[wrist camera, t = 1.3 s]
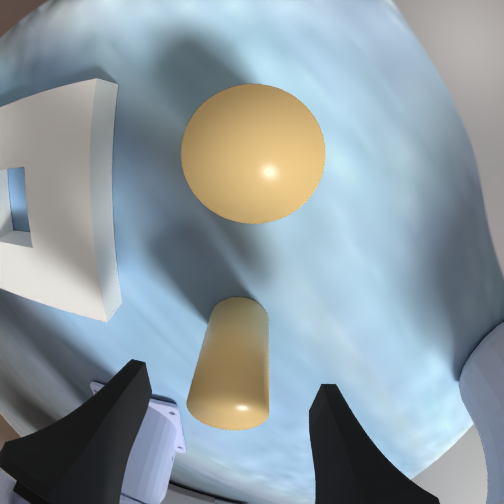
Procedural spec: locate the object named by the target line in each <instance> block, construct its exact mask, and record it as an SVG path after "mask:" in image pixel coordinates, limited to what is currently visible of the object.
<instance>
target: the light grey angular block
mask: <svg viewBox="0 0 504 504" xmlns="http://www.w3.org/2000/svg"><path fill="white" fill-rule="evenodd" d="M214 501H215V498H213V497H209V496H206V495H202V494H199V493H196V492H193V491H189V490H186V489H183V488H181V487H178V486H175V485H172V484H169V483H168V487H167V492H166V495H165V497H164V499H163V500H162V501H161V502H160V504H217V503H214Z"/></svg>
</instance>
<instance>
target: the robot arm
mask: <svg viewBox="0 0 504 504" xmlns="http://www.w3.org/2000/svg"><path fill="white" fill-rule="evenodd" d="M90 387H91V390H92V392H93V394H94V395H93V396H92V397H91V398H90V399H88V400H87V401H86V402H85V403H84V404H82V405H81V406H80V407H78V408H77V409H76V410H74V411H73V412H71V413H70V414H68V415H67V416H65V417H64V418H62V419H60V420H59V421H57V422H55V423H54V424H52V425H50V426H48V427H46V428H44V429H42V430H39V431H37V432H35V433H32V434H30V435H27V436H25V437H21V438H18V439H15V440H11V441H8V442H5V444H4V446H3V448H2V450H1V451H0V467H1V468H2V469H3V470H4V471H5V472H7V473H8V474H9V475H11V476H12V477H13V478H14V479H16V480H17V482H15V481H13V480H12V479H11V478H9V477H8V476H7V475H5V474H4V473H3V472H2V471H1V470H0V504H160V502H161V501H162V500H163V499H164V497H165V495H166V492H167V487H168V483H169V479H170V475H171V470H172V466H173V462H174V458H175V454H176V452H180V453H186V445H185V441H184V435H183V430H182V425H181V419H180V413H179V408H178V406H177V405H175V404H173V403H168V402H164V401H159V400H155V399H151V398H150V397H151V394H152V389H151V385H150V381H149V377H148V373H147V368H146V363H145V362H142V361H138V360H134V359H132V360H130V361H129V362H128V363H127V364H126V365H125V366H124V367H123V368H122V369H121V370H120V371H119V372H118V373H117V374H116V375H115V376H114V377H113V378H112V379H111V380H110V381H109V382H108V383H107V384H106V385H103V384H100V383H97V382H91V383H90ZM309 433H310V441H311V448H312V455H313V462H314V470H315V480H316V499H315V504H440V503H439V499H438V498H437V497H435V496H434V495H432V494H430V493H429V492H427V491H425V490H424V489H422V488H421V487H419V486H418V485H416V484H415V483H414V482H412V481H411V480H410V479H409V478H407V477H406V476H405V475H404V474H403V473H402V472H400V471H399V470H398V469H397V468H396V467H395V466H394V465H393V464H392V463H391V462H390V461H389V460H388V459H387V458H386V457H385V456H384V455H383V454H382V453H381V451H380V450H379V449H378V448H377V447H376V445H375V444H374V443H373V442H372V440H371V439H370V438H369V436H368V435H367V434H366V432H365V431H364V429H363V428H362V426H361V425H360V423H359V422H358V420H357V419H356V417H355V416H354V414H353V413H352V411H351V409H350V408H349V406H348V404H347V403H346V401H345V399H344V397H343V396H342V394H341V392H340V390H339V389H338V387H337V385H336V384H321V386H320V389H319V391H318V393H317V395H316V397H315V399H314V402H313V404H312V406H311V408H310V410H309Z"/></svg>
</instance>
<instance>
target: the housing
mask: <svg viewBox="0 0 504 504" xmlns="http://www.w3.org/2000/svg"><path fill="white" fill-rule="evenodd" d="M117 91H118V84H115V83H112V82H109V81H105V80H101V79H98V78H95V79H90V80H85V81H81V82H77V83H72V84H68V85H64V86H61V87H57V88H53V89H50V90H47V91H43V92H40V93H37V94H34V95H31V96H28V97H25V98H22V99H20V100H17V101H14V102H12V103H9V104H7V105H4V106H2V107H0V288H1V289H4V290H7V291H9V292H12V293H14V294H17V295H20V296H22V297H25V298H28V299H31V300H34V301H37V302H40V303H43V304H46V305H49V306H52V307H55V308H58V309H61V310H65V311H68V312H71V313H75V314H78V315H82V316H85V317H89V318H93V319H96V320H100V321H104V322H108V321H109V320H110V318H111V317H112V315H113V314H114V313H115V311H116V310H117V309H118V307H119V306H120V305H121V304H122V299H121V292H120V285H119V278H118V270H117V261H116V251H115V239H114V225H113V203H112V155H113V134H114V120H115V109H116V100H117ZM19 167H25V189H26V201H27V211H28V219H29V227H30V232H24V231H16V230H13V224H12V216H11V208H10V199H9V187H8V169H10V168H19Z"/></svg>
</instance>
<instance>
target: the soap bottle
mask: <svg viewBox="0 0 504 504" xmlns="http://www.w3.org/2000/svg"><path fill="white" fill-rule="evenodd" d="M459 389H460V394H461V398H462V401H463V403H464V405H465V407H466V409H467V411H468V412H469V414H470V416H471V418H472V420H473V423H474V425H475V427H476V429H477V431H478V433H479V435H480V438H481V442H482V445H483V449H484V453H485V459H486V465H487V472H488V493H487V501H486V504H504V322H503V323H501V324H499V325H498V326H496V327H495V328H494V329H493V330H492V331H491V332H490V333H489V334H488V335H487V336H486V337H485V338H484V339H483V340H482V341H481V343H480V344H479V345H478V346H477V347H476V349H475V350H474V351H473V352H472V354H471V355H470V357H469V359H468V360H467V362H466V363H465V365H464V367H463V369H462V373H461V376H460V380H459Z"/></svg>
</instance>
